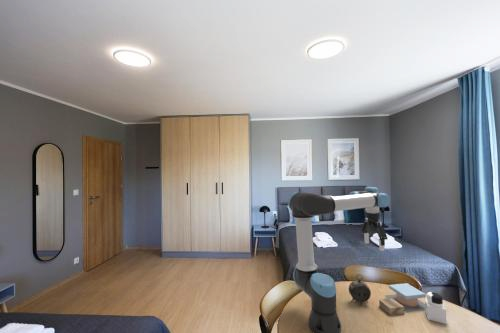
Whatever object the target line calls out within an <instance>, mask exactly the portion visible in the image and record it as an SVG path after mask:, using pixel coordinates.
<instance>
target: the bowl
mask: <svg viewBox="0 0 500 333" xmlns="http://www.w3.org/2000/svg"><path fill="white" fill-rule="evenodd" d="M395 294H396V296H397V301H398V302H399V303H401V304H402V305H405V306H408V307H417V306H418V300H419V298H416V299H404V298H403V297H401V296H400V295H399V294H397V293H396V292H395Z"/></svg>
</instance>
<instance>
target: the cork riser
mask: <svg viewBox="0 0 500 333" xmlns="http://www.w3.org/2000/svg"><path fill="white" fill-rule="evenodd" d="M378 301H379V306H378V307H380V308H381V309H382V310H383V311H385V313H387V314H388V315H389V316H398V315H400V316H401V315H405V311H404V306H402V305H401V304H399V303H398V302H397V301H395V300H394V299H393V298H390V299H388V298H382V299H379V300H378Z"/></svg>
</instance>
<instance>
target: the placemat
mask: <svg viewBox="0 0 500 333" xmlns="http://www.w3.org/2000/svg"><path fill="white" fill-rule="evenodd" d="M384 297H385V299H390V298H393V299H394V300H395V301H397V296H396V293H395V294H389V295H384ZM397 302H398V301H397ZM398 303H399V302H398ZM399 304H401V303H399ZM401 305H402V304H401ZM402 306H404V313H412V312H413V313H414V312H421V311H426V309H425V302H423V301H421V300H419V299H418V306H417V307H408V306H405V305H402Z"/></svg>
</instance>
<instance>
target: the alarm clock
mask: <svg viewBox="0 0 500 333" xmlns="http://www.w3.org/2000/svg"><path fill="white" fill-rule="evenodd" d="M358 276H361V279H360V278H359V279H358ZM355 277H356V280H353V281H352V282H350V284H349V286H348V292H349V295H350V296H351V297H352V299H351V302H352V303H353V301H355V302H357V303H360V306H363V303H369V302H368V301H369V299H370V298H371V295H372V292H371V289H370V287H369V286H368V285H367V283H366V282H364V281H363V275H362V274H357V275H356V276H355Z"/></svg>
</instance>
